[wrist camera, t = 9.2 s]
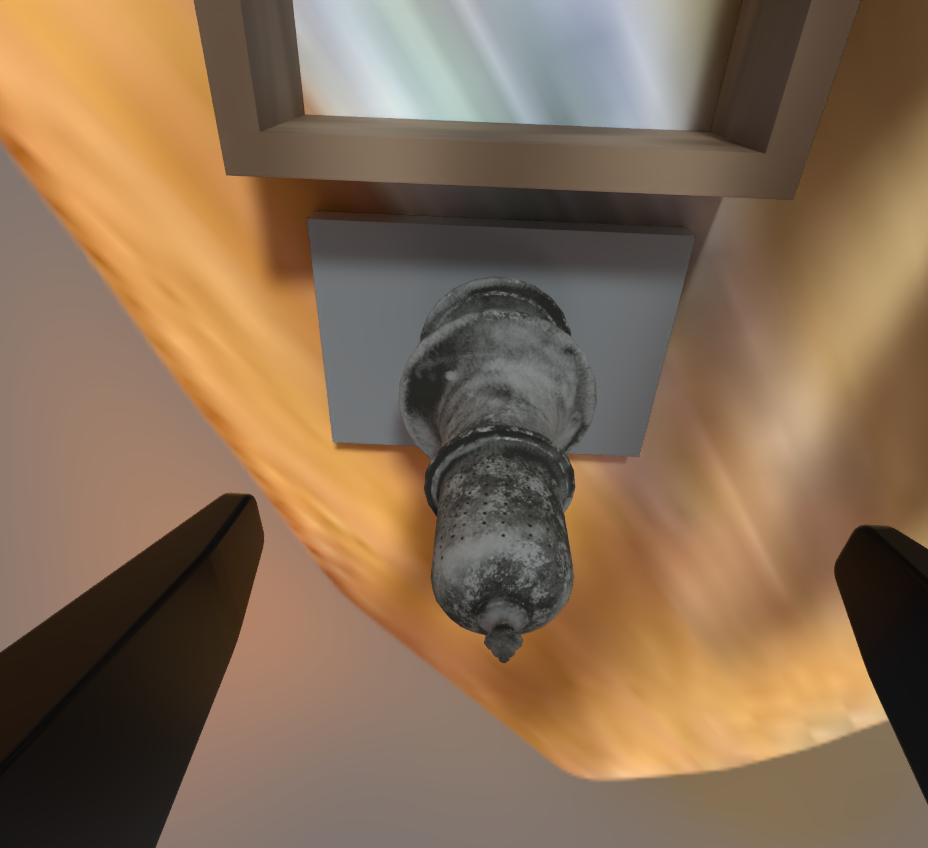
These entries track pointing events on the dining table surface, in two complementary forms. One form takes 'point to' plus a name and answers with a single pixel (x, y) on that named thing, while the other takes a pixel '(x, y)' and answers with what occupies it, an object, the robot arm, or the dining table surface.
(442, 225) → the slate pad
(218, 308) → the dining table surface
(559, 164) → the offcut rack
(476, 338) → the grey turned upright piece
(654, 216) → the dining table surface
